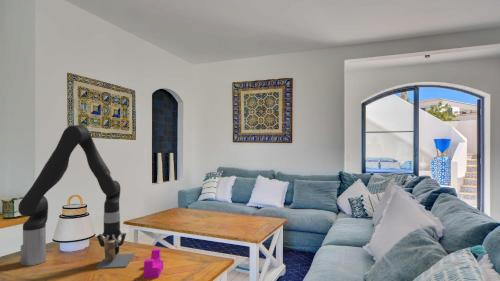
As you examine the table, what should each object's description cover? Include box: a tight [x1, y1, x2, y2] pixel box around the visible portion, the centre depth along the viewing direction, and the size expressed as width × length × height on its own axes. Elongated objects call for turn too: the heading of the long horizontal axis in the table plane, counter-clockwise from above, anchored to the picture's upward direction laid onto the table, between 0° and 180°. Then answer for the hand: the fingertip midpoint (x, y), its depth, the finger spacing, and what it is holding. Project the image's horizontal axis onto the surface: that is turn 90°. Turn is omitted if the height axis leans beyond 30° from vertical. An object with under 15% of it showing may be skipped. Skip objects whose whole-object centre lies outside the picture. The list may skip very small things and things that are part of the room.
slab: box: [104, 236, 120, 260], centre depth 149 cm, size 4×8×9 cm, turn 7°
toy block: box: [143, 248, 164, 279], centre depth 139 cm, size 15×6×8 cm, turn 4°
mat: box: [94, 253, 135, 270], centre depth 149 cm, size 14×16×1 cm
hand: (112, 253), depth 149 cm, fingers closed on slab, 4 cm apart
